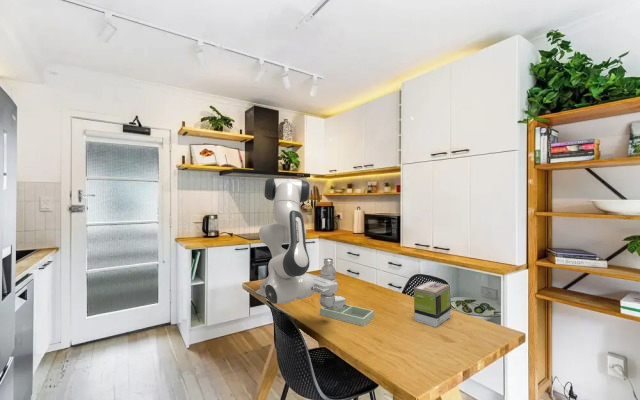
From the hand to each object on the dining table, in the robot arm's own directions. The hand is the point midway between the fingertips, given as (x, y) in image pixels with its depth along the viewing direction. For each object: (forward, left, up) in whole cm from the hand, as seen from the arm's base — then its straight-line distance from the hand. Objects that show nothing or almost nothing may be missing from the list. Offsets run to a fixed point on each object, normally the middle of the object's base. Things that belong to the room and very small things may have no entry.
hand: (329, 279), depth 126 cm
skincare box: (-2, +10, -19) cm, 21 cm away
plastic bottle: (-1, -1, -11) cm, 11 cm away
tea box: (+36, +28, -19) cm, 49 cm away
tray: (+3, +10, -18) cm, 21 cm away
